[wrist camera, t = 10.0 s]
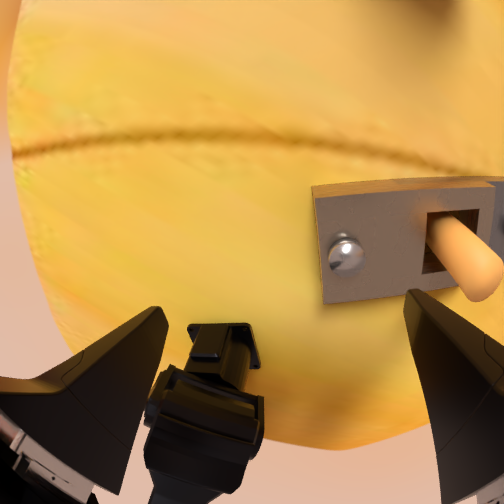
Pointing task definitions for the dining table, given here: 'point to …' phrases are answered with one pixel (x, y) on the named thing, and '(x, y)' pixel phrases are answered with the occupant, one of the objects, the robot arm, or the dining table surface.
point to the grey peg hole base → (500, 237)
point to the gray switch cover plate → (389, 234)
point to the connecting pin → (464, 255)
